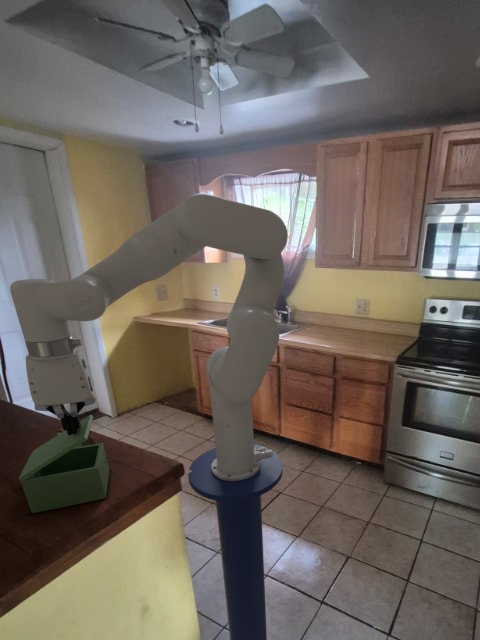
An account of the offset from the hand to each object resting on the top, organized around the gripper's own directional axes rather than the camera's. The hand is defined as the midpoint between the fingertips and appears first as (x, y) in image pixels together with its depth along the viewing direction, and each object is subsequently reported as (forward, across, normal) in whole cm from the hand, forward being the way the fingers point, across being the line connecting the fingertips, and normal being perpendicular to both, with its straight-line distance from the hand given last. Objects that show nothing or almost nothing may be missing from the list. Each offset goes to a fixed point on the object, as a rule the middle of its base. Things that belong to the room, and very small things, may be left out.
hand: (73, 431), depth 78 cm
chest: (+14, +3, 0) cm, 15 cm away
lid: (+3, +3, 0) cm, 4 cm away
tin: (+14, +3, -14) cm, 20 cm away
